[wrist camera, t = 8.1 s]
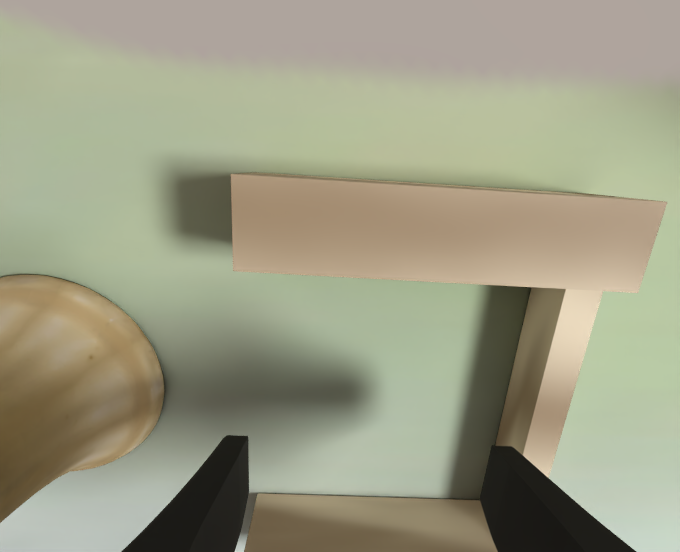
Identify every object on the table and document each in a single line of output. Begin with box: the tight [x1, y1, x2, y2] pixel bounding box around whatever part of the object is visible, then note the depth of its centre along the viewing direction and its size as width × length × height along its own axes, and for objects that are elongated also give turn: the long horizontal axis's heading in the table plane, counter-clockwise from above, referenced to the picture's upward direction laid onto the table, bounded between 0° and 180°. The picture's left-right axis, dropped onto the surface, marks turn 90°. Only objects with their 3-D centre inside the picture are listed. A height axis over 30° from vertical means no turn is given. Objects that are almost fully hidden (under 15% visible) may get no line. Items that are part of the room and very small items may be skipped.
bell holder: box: [231, 172, 667, 552], centre depth 13 cm, size 16×11×3 cm
